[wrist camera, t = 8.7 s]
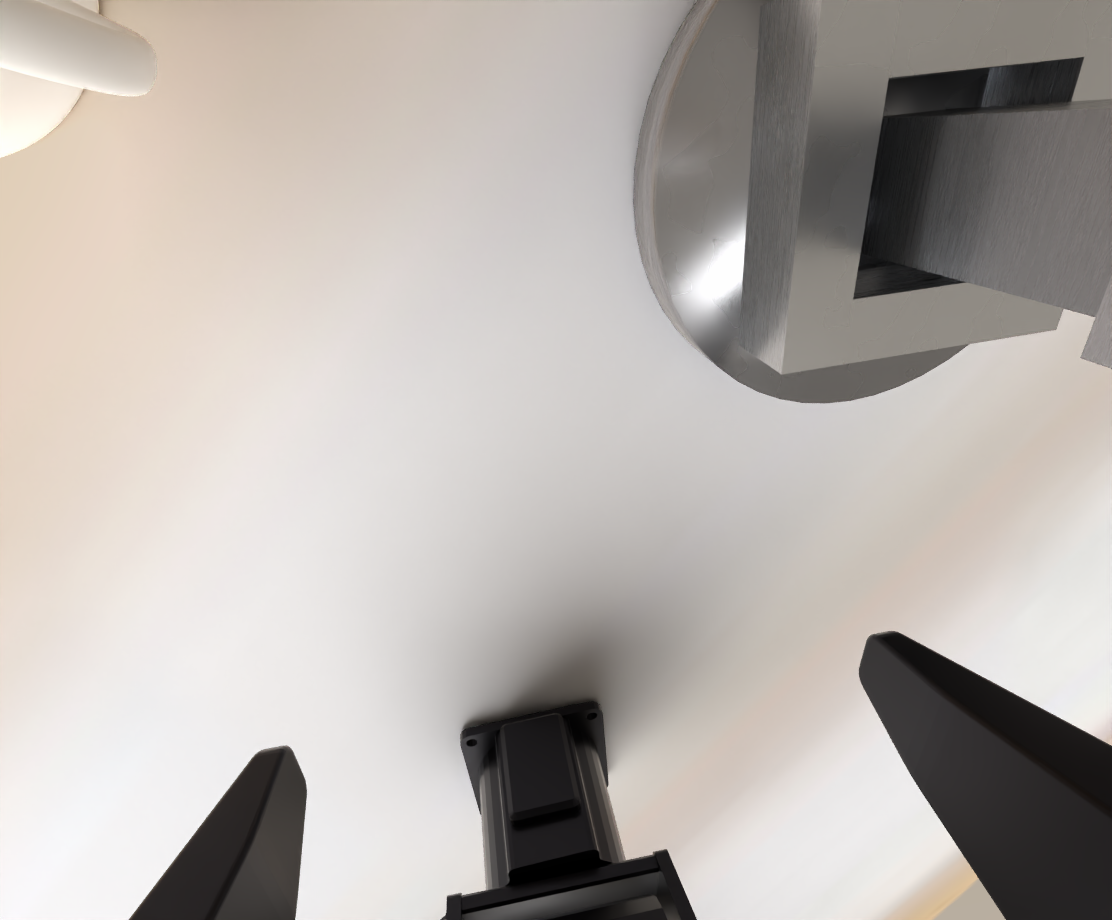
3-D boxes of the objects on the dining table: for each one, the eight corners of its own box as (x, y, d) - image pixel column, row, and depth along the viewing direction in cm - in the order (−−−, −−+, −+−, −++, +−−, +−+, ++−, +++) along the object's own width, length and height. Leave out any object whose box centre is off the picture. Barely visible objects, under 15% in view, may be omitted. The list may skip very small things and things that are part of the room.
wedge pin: (937, 247, 17) (1386, 344, 9) (809, 265, 16) (1160, 384, 8) (975, 83, 15) (1599, 18, 7) (829, 98, 14) (1314, 49, 6)
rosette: (980, 351, 21) (1101, 398, 17) (638, 408, 20) (687, 473, 16) (1200, -424, 12) (1544, -677, 9) (617, -420, 11) (714, -721, 7)
